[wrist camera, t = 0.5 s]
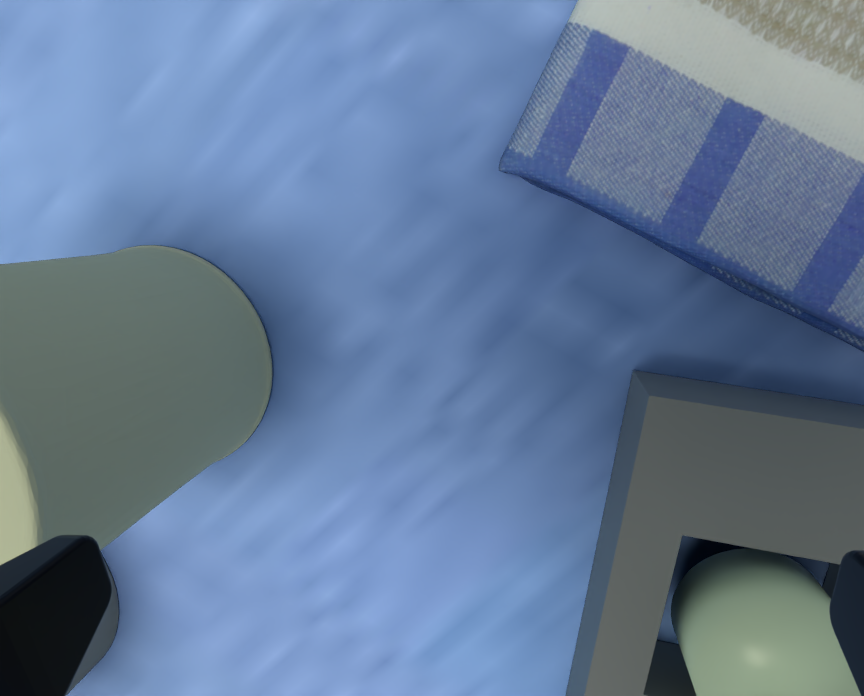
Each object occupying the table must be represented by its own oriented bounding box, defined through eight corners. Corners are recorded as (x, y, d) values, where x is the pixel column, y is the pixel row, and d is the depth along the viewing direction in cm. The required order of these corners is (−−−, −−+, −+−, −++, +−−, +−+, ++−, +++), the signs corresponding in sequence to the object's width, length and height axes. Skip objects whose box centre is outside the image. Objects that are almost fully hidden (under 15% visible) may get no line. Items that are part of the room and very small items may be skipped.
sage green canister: (27, 359, 25) (-408, 486, 13) (143, 194, 22) (-270, 174, 11) (187, 507, 25) (-103, 754, 14) (319, 360, 23) (100, 511, 11)
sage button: (805, 690, 20) (849, 768, 18) (657, 658, 21) (677, 728, 18) (845, 564, 19) (901, 627, 16) (688, 535, 20) (714, 590, 17)
